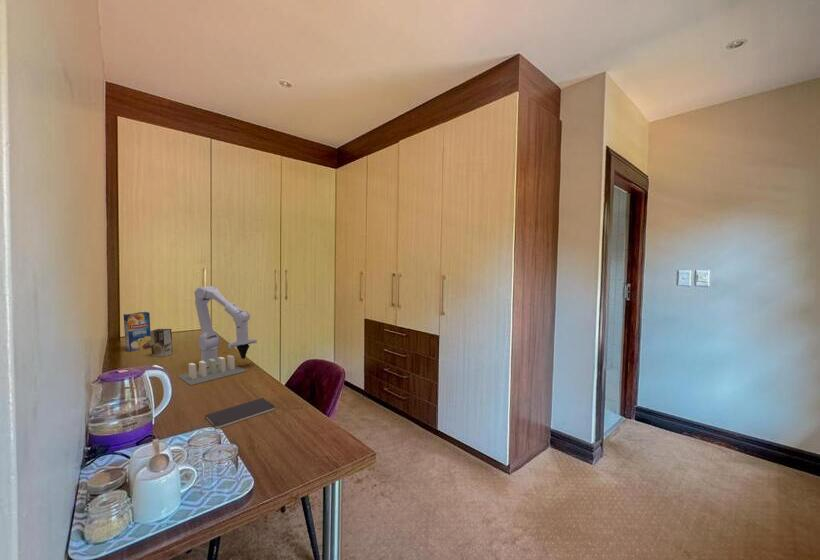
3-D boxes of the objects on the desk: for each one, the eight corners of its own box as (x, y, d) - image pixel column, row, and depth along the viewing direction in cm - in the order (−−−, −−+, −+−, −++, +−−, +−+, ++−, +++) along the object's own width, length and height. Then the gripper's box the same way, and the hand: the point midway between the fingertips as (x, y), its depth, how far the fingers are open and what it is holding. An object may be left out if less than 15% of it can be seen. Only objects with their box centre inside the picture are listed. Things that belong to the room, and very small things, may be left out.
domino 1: (192, 379, 165) (191, 365, 164) (189, 377, 168) (188, 363, 167) (196, 378, 166) (195, 364, 166) (193, 376, 169) (192, 362, 169)
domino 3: (222, 372, 175) (221, 359, 174) (218, 370, 178) (217, 357, 178) (225, 371, 176) (225, 358, 176) (222, 369, 179) (221, 356, 179)
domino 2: (202, 377, 168) (202, 363, 168) (199, 374, 171) (198, 361, 171) (206, 376, 169) (206, 362, 169) (203, 374, 173) (202, 360, 172)
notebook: (262, 401, 141) (205, 419, 125) (262, 397, 141) (205, 414, 125) (276, 410, 132) (216, 430, 117) (276, 406, 132) (216, 426, 116)
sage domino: (212, 374, 172) (212, 361, 171) (209, 372, 175) (208, 359, 174) (216, 373, 173) (215, 360, 172) (212, 371, 176) (212, 358, 176)
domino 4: (231, 370, 178) (230, 357, 178) (227, 368, 181) (227, 355, 181) (234, 369, 180) (234, 356, 179) (231, 367, 183) (230, 354, 182)
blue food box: (147, 346, 232) (145, 311, 231) (151, 347, 228) (149, 312, 226) (125, 350, 222) (123, 314, 221) (129, 351, 218) (127, 315, 217)
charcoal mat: (177, 376, 170) (177, 375, 170) (231, 364, 190) (231, 363, 190) (190, 385, 157) (190, 384, 157) (247, 371, 177) (246, 370, 177)
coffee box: (173, 353, 212) (172, 328, 211) (164, 356, 206) (163, 330, 205) (160, 353, 213) (158, 328, 212) (151, 356, 207) (149, 330, 206)
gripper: (231, 337, 176) (232, 362, 177) (258, 332, 187) (259, 356, 188) (225, 335, 181) (227, 360, 182) (253, 330, 192) (253, 354, 193)
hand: (243, 358), depth 185 cm, fingers closed
